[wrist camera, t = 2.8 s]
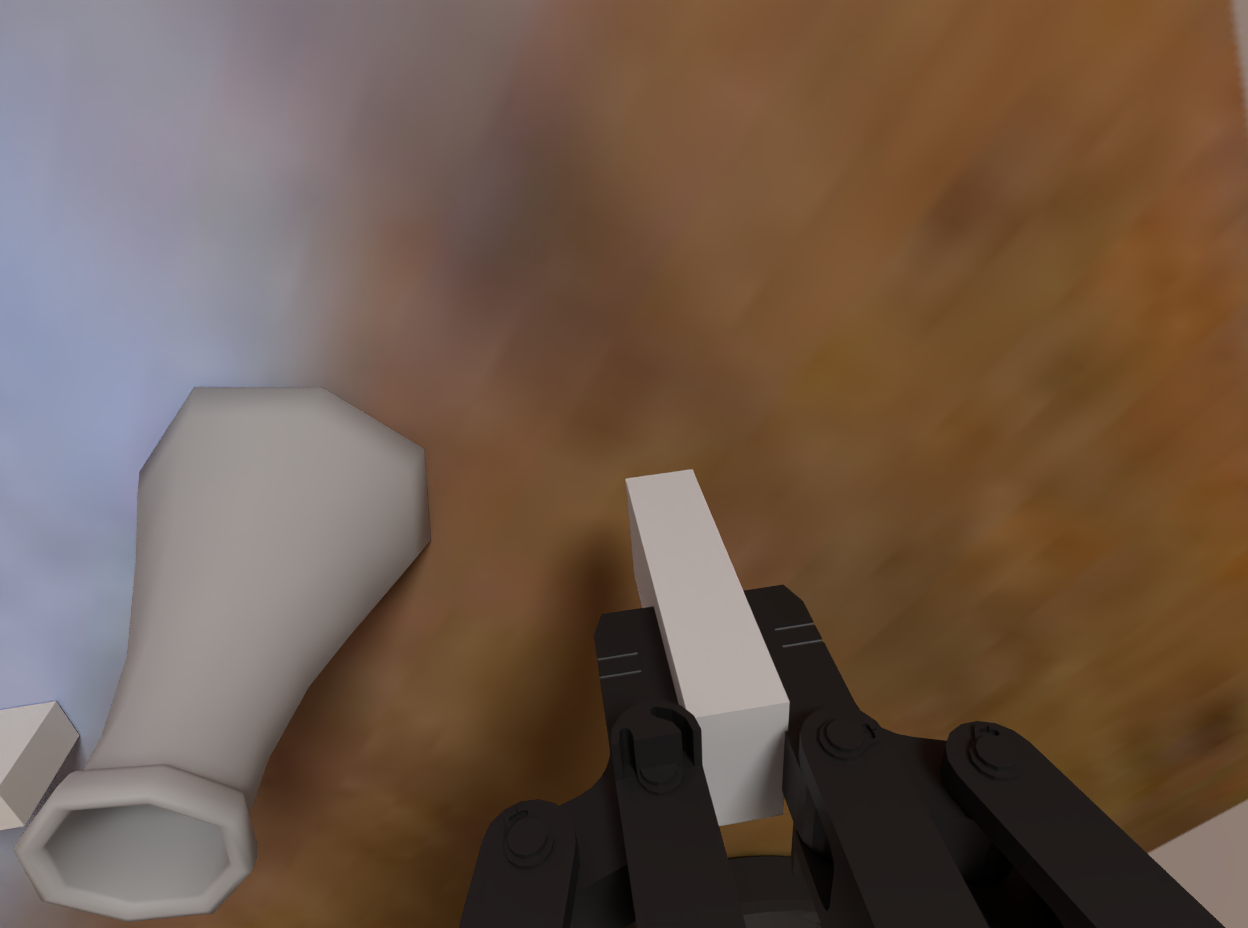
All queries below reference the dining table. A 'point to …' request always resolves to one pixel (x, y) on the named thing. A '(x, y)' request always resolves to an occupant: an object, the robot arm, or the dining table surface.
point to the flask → (226, 639)
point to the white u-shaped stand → (30, 757)
